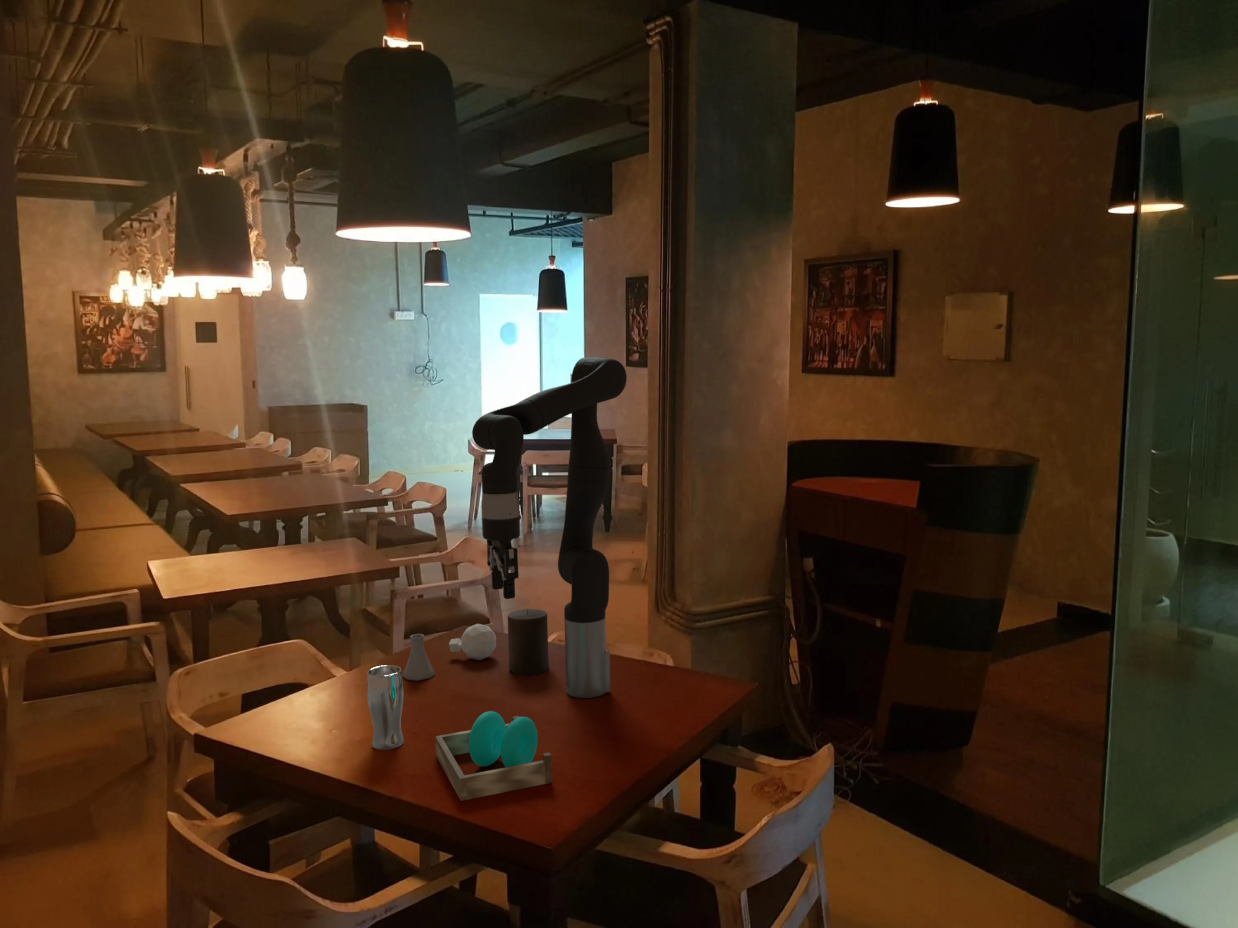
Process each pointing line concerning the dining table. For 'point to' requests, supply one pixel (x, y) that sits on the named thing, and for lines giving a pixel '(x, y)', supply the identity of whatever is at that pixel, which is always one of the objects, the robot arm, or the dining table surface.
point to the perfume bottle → (475, 642)
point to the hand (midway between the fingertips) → (503, 593)
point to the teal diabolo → (502, 740)
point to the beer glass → (385, 705)
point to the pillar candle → (528, 641)
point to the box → (492, 779)
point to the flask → (418, 661)
